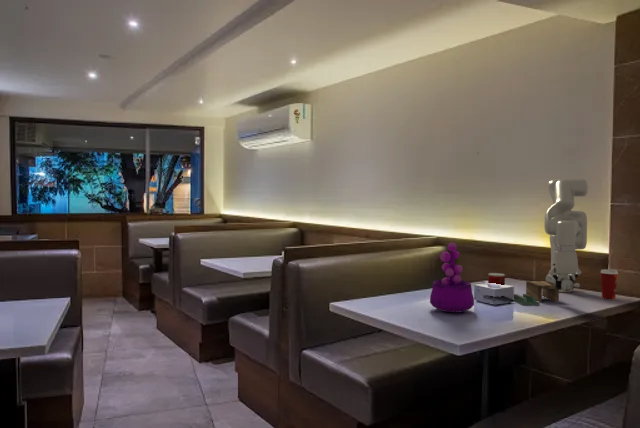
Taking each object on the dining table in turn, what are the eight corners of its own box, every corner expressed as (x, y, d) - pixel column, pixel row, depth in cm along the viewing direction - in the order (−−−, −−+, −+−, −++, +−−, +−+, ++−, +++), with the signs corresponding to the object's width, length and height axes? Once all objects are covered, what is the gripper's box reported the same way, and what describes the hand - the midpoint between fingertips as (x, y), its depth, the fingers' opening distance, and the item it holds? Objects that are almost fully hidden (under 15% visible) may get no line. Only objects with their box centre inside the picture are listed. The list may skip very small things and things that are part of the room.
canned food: (501, 298, 245) (502, 275, 245) (485, 296, 250) (486, 274, 250) (506, 295, 252) (507, 273, 251) (490, 293, 256) (491, 272, 256)
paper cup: (621, 300, 240) (621, 271, 240) (605, 300, 240) (605, 271, 240) (611, 297, 248) (612, 269, 247) (596, 297, 248) (596, 269, 248)
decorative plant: (443, 317, 207) (443, 245, 206) (422, 307, 224) (422, 241, 223) (482, 314, 212) (483, 243, 211) (459, 305, 229) (460, 240, 228)
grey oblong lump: (545, 284, 236) (545, 273, 235) (555, 283, 236) (555, 273, 236) (562, 291, 221) (562, 280, 220) (573, 290, 221) (573, 279, 221)
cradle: (526, 299, 242) (527, 293, 242) (539, 305, 230) (539, 298, 230) (510, 299, 241) (510, 293, 241) (522, 305, 229) (522, 298, 229)
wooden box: (545, 296, 249) (545, 281, 249) (558, 301, 237) (558, 285, 237) (526, 296, 249) (526, 281, 248) (537, 301, 237) (538, 285, 237)
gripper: (579, 247, 227) (578, 286, 228) (542, 247, 226) (542, 287, 227) (589, 249, 219) (588, 290, 220) (551, 250, 218) (550, 291, 219)
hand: (564, 288), depth 224 cm, fingers closed on grey oblong lump, 5 cm apart
